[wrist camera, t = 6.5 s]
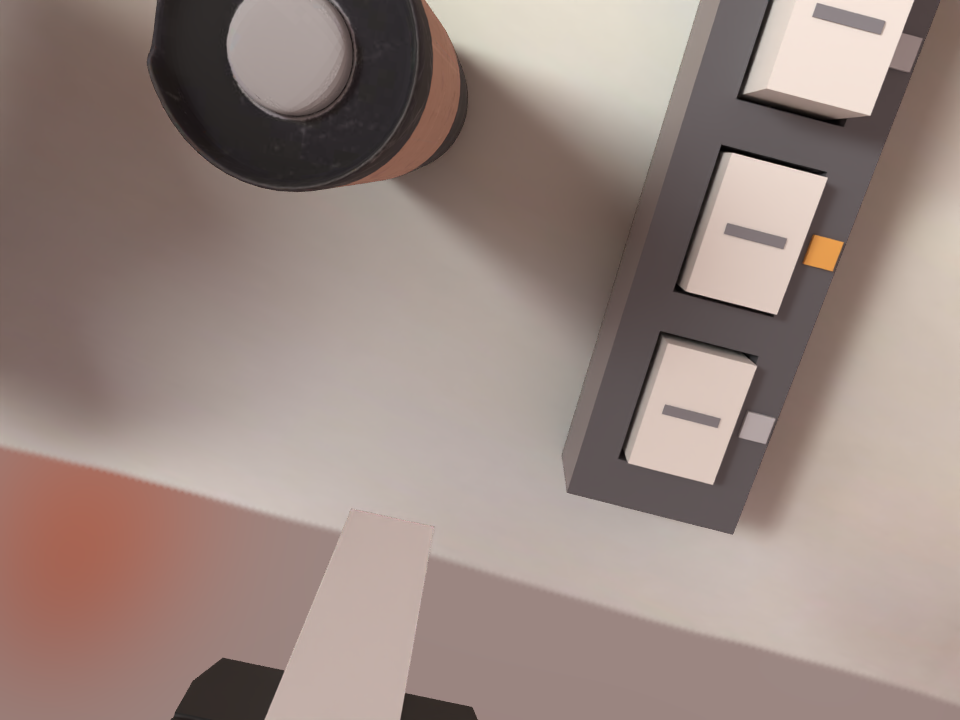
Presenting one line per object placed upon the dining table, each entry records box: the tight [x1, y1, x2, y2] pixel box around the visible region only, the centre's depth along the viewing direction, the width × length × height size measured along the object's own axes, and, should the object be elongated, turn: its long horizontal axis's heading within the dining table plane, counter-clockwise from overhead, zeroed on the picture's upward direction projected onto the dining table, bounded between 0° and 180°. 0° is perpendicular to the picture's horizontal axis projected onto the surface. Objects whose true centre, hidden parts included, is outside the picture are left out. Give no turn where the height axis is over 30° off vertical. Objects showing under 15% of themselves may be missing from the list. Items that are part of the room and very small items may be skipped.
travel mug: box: [147, 0, 468, 192], centre depth 29 cm, size 8×8×20 cm
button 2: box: [676, 153, 828, 315], centre depth 36 cm, size 4×6×5 cm
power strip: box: [562, 0, 940, 535], centre depth 36 cm, size 9×36×5 cm, turn 166°
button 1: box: [622, 331, 757, 485], centre depth 39 cm, size 4×6×5 cm
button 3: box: [737, 0, 914, 121], centre depth 32 cm, size 4×6×5 cm
